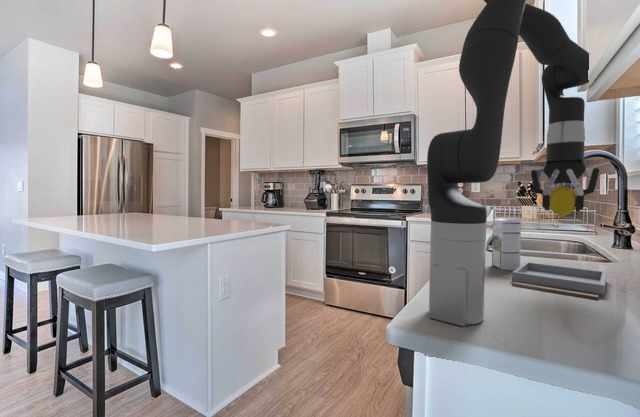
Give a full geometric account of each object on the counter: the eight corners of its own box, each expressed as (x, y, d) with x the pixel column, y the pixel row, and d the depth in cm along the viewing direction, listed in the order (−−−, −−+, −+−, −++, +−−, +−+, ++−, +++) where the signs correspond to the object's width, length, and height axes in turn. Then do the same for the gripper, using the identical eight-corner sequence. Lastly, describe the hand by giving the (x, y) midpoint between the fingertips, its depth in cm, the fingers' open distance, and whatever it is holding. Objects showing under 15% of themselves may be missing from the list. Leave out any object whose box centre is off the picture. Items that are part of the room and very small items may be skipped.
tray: (603, 296, 73) (604, 285, 73) (512, 281, 85) (512, 272, 84) (606, 281, 85) (606, 271, 85) (525, 270, 97) (526, 261, 97)
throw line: (598, 299, 71) (598, 297, 71) (512, 285, 81) (512, 283, 81) (598, 298, 72) (598, 295, 72) (513, 284, 83) (513, 281, 83)
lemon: (580, 218, 81) (582, 185, 80) (554, 218, 82) (556, 185, 81) (568, 216, 86) (570, 185, 86) (544, 216, 87) (545, 185, 87)
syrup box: (521, 270, 97) (522, 219, 96) (500, 270, 97) (501, 219, 97) (510, 265, 103) (511, 218, 102) (490, 265, 103) (492, 218, 102)
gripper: (527, 143, 85) (525, 210, 86) (602, 137, 75) (599, 213, 76) (533, 146, 90) (531, 209, 91) (603, 140, 81) (600, 211, 82)
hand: (562, 210), depth 84 cm, fingers closed on lemon, 5 cm apart
